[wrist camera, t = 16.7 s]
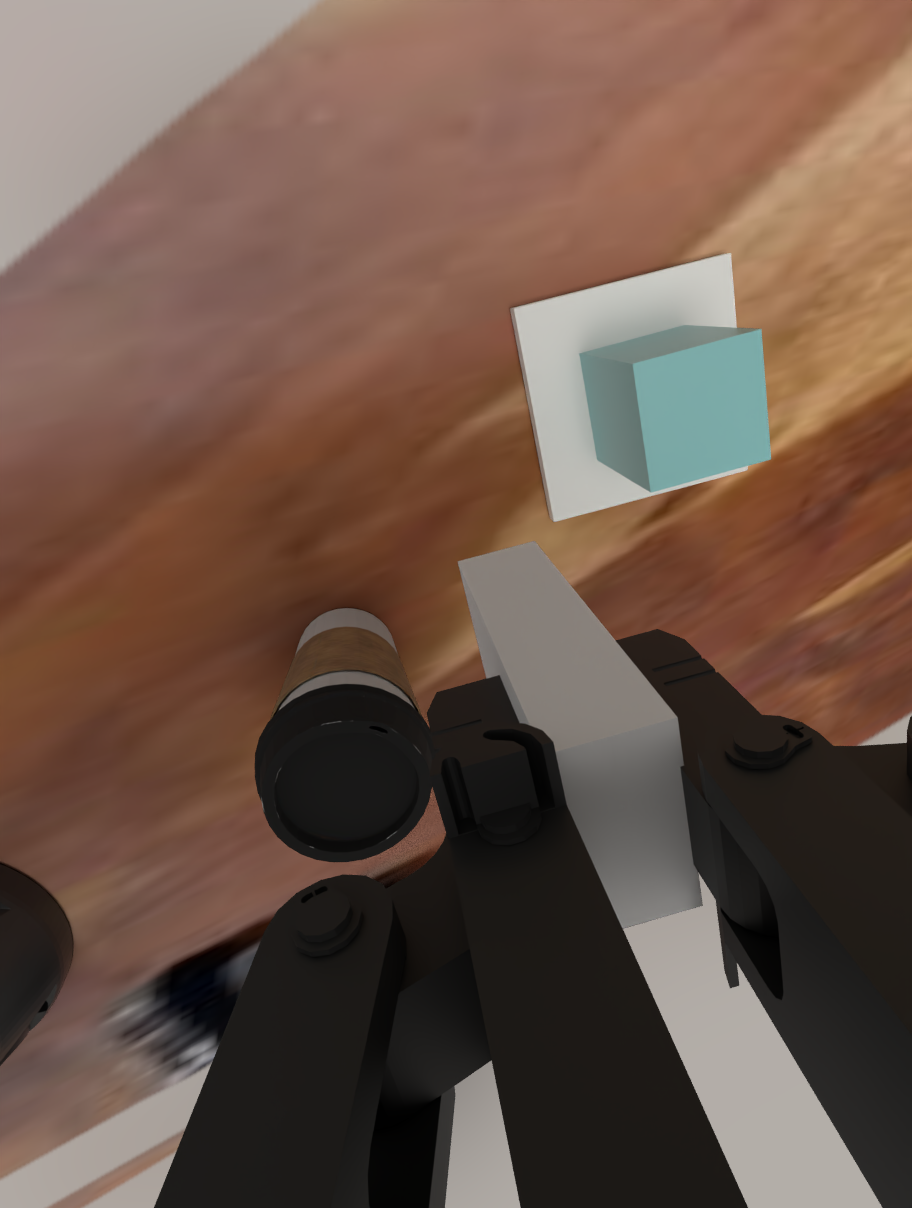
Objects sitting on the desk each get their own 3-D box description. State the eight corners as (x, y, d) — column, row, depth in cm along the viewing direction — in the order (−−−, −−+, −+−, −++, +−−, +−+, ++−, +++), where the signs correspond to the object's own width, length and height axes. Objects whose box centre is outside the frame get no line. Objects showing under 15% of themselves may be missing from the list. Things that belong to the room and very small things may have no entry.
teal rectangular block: (597, 460, 43) (650, 492, 35) (579, 353, 41) (632, 363, 33) (696, 432, 43) (771, 459, 36) (684, 325, 41) (761, 328, 33)
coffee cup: (436, 615, 46) (474, 746, 32) (384, 727, 49) (399, 894, 35) (305, 567, 44) (286, 686, 30) (258, 688, 46) (220, 849, 32)
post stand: (549, 517, 45) (589, 558, 37) (509, 308, 40) (546, 308, 33) (739, 466, 45) (816, 497, 38) (721, 254, 41) (805, 242, 33)
